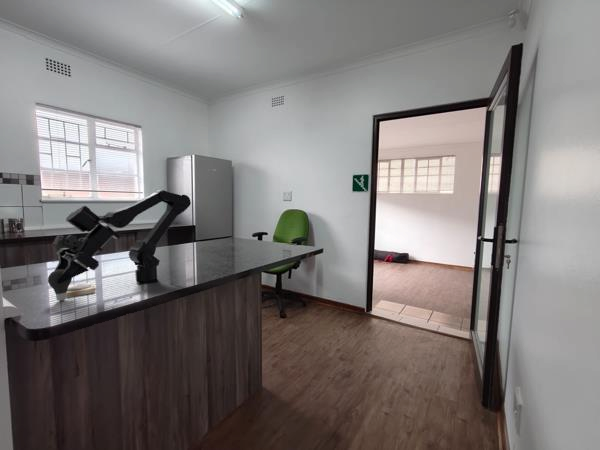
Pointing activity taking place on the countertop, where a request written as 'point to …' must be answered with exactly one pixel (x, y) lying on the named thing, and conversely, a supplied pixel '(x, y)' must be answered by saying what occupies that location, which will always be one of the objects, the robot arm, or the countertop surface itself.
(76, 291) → the plinth
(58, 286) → the light bulb
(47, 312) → the countertop surface
